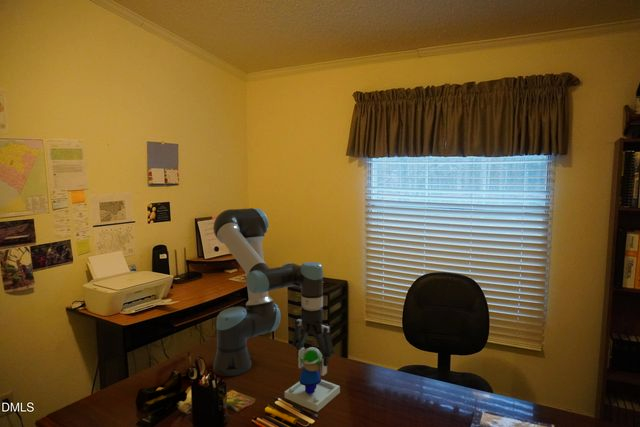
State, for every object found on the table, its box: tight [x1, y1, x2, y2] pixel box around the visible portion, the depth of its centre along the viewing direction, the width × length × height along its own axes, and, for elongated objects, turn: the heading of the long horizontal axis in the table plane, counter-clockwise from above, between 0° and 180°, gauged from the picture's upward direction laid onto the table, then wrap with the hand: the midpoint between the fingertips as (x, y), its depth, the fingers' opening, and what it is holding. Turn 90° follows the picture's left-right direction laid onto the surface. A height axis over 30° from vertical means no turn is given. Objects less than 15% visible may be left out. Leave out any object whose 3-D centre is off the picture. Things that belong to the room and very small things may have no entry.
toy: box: [298, 346, 322, 394], centre depth 128 cm, size 9×9×15 cm
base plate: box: [284, 378, 341, 413], centre depth 128 cm, size 14×14×3 cm
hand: (312, 370), depth 128 cm, fingers closed on toy, 9 cm apart
